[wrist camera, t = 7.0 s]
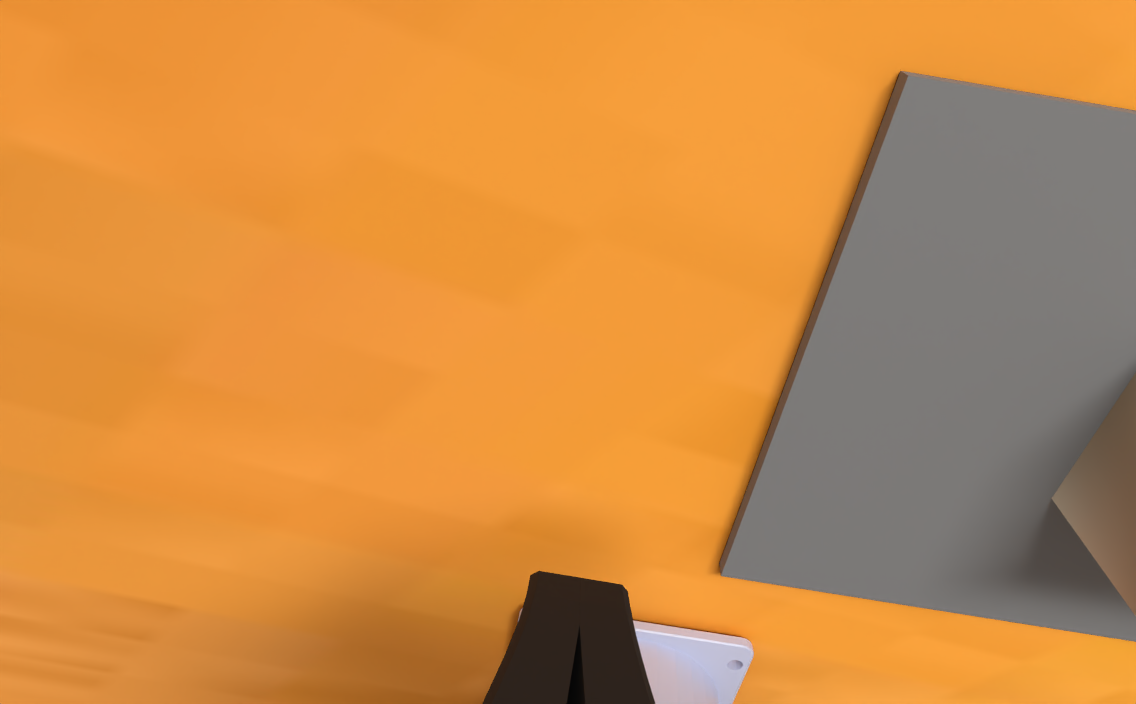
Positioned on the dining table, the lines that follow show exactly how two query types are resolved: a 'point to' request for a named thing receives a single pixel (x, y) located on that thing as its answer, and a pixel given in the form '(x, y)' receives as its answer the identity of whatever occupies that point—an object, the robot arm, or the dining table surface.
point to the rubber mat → (958, 366)
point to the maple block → (1107, 495)
